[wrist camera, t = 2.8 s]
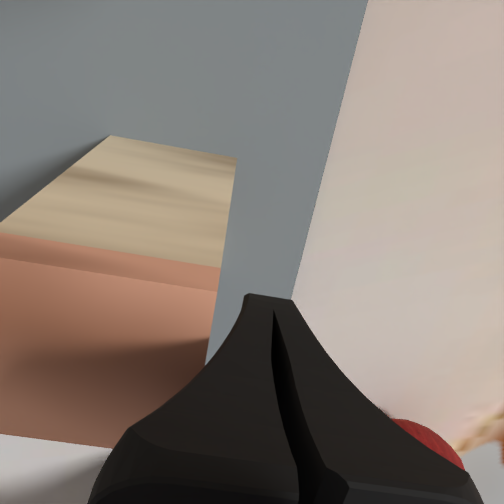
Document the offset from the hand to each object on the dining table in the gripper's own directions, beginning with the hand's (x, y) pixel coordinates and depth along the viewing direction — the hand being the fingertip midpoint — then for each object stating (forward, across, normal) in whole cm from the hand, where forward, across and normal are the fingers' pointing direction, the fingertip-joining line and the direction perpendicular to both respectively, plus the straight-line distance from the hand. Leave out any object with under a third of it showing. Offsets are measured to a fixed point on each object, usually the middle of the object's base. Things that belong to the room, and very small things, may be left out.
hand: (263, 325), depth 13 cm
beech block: (+7, +4, 0) cm, 8 cm away
